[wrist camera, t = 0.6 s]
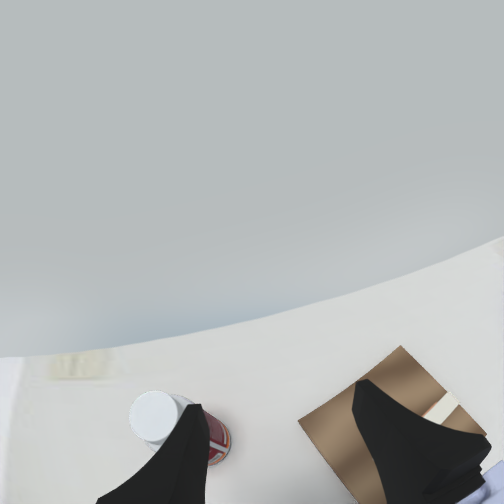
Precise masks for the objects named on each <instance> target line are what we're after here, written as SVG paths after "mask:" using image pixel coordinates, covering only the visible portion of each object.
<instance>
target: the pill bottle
mask: <svg viewBox="0 0 504 504" xmlns="http://www.w3.org/2000/svg"><path fill="white" fill-rule="evenodd" d="M188 404H195V403H193V402H192V401H190V400H189V399H187V398H185V397H183V396H179V395H169V394H167V393H165V392H162V391H157V390H153V391H148V392H145V393H144V394H142V395H140V396H139V397H138V398H137V399H136V400H135V401H134V403H133V405H132V407H131V409H130V413H129V422H130V426H131V429H132V430H133V432H134V433H135V434H136V435H137V436H138V437H139V438H140V439H142V440H144V441H145V443H146V444H147V445H148V447H149V448H150V449H152V450H153V451H154V452H157V451H158V450H159V448H160V447H161V446H162V444H163V443H164V442H165V440H166V439H167V438H168V436H169V435H170V433H171V431H172V430H173V428H174V427H175V425H176V424H177V422H178V420H179V418H180V417H181V415H182V413H183V411H184V409H185V407H186V406H187V405H188ZM203 412H204V415H205V418H206V421H207V424H208V427H209V429H210V452H209V460H208V466H209V465H213V464H216V463H218V462H219V461H221V460H222V459H223V458H224V457H225V456H226V454H227V452H228V450H229V447H230V435H229V432H228V430H227V428H226V427H225V426H224V424H223V423H221V422H220V421H219V420H218V419H216V418H215V417H213V416H212V415H210V414H209V413H207V412H206V411H204V410H203Z"/></svg>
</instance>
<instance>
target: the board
mask: <svg viewBox="0 0 504 504" xmlns="http://www.w3.org/2000/svg"><path fill="white" fill-rule="evenodd" d="M364 379H369V380H370V381H371V382H372V383H374V384H375V385H376V386H377V387H379V388H380V389H381V390H382V391H384V392H385V393H386V394H388V395H389V396H390V397H392V398H393V399H394V400H396V401H397V402H399V403H400V404H401V405H403V406H404V407H406V408H407V409H409V410H411V411H412V412H414V413H416V414H418V415H419V416H422V415H423V414H424V413H425V412H426V411H427V410H428V409H429V408H430V407H431V406H432V405H433V404H434V403H435V402H438V401H439V400H440V399H441V398H442V397H443V396H444V395H445V394H446V393H447V391H446V390H445V389H444V388H443V387H442V386H441V385H440V384H439V383H438V382H437V381H436V380H435V379H434V378H433V377H432V376H431V375H430V374H429V373H428V372H427V371H426V370H425V369H424V368H423V367H422V366H421V365H420V364H419V363H418V362H417V361H416V360H415V359H414V358H413V357H412V356H411V355H410V354H409V353H408V352H407V351H406V350H405V349H404V348H403V347H402V346H401V345H400V346H399V347H398V348H397V349H396V350H394V351H393V352H392V353H391V354H390V355H389V356H387V357H386V358H385V359H384V360H383V361H381V362H380V363H379V364H378V365H376V366H375V367H374V368H373V369H371V370H370V371H369V372H368V373H366V374H365V375H364V376H363V377H361V378H360V379H359V380H357V381H361V380H364ZM357 381H356V382H357ZM356 382H355V383H353V384H352V385H350V386H349V387H348V388H346V389H345V390H344V391H342V392H341V393H339V394H338V395H336V396H335V397H334V398H332V399H331V400H329V401H328V402H326V403H325V404H323V405H322V406H320V407H319V408H317V409H315V410H314V411H312V412H311V413H309V414H308V415H306V416H304V417H303V418H301V419H299V420H298V422H299V424H300V425H301V426H302V428H303V429H304V431H305V432H306V434H307V435H308V436H309V438H310V439H311V441H312V442H313V443H314V445H315V446H316V448H317V449H318V450H319V452H320V453H321V454H322V456H323V457H324V458H325V460H326V461H327V463H328V464H329V465H330V467H331V468H332V469H333V471H334V472H335V473H336V474H337V476H338V477H339V478H340V480H341V481H342V482H343V484H344V485H345V486H346V487H347V489H348V490H349V491H350V493H351V494H352V495H353V496H354V498H355V499H356V500H357V501H358V503H359V504H387V501H386V497H385V493H384V490H383V486H382V483H381V480H380V476H379V473H378V470H377V467H376V465H375V462H374V461H373V458H372V456H371V454H370V452H369V450H368V448H367V446H366V444H365V442H364V440H363V438H362V436H361V434H360V432H359V430H358V428H357V425H356V422H355V419H354V416H353V413H352V404H353V398H354V391H355V384H356ZM440 425H442V426H445V427H448V428H452V429H455V430H459V431H464V432H469V433H476V434H483V435H484V437H485V436H486V435H487V434H486V432H485V431H484V430H483V429H482V428H481V427H480V426H479V425H478V424H477V423H476V422H475V421H474V419H473V418H472V417H471V416H470V415H469V414H468V413H467V412H466V411H465V410H464V409H463V408H462V407H461V406H460V405H458V406H457V407H456V408H455V409H454V410H453V411H452V413H451V414H450V415H449V416H448V417H447V418H446V419H445V420H444V421H443V422H442V423H441V424H440Z"/></svg>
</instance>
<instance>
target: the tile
mask: <svg viewBox="0 0 504 504" xmlns="http://www.w3.org/2000/svg"><path fill="white" fill-rule="evenodd" d="M459 403H460V402H459V401H458V400H457V399H456V398H455V397H454V396H453V395H452V394H451V393H450V391H448V392H447V393H446V394H445V395H444V396H443V397H442V398H441V399H440V400H439V401H438V402H435V403H434V404H433V405H432V406H431V407H430V408H429V409H428V410H427V411H426V412H425V413H424V414H423V415H422V416H421V417H423V418H426V419H428V420H430V421H432V422H434V423H437V424H441V423H442V422H443V421H444V420H445V419H446V418H447V417H448V416H449V415H450V414H451V413H452V411H453V410H454V409H455V408H456V407H457V406H458V405H459ZM373 461H374V460H373Z"/></svg>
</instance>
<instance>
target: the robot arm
mask: <svg viewBox="0 0 504 504" xmlns="http://www.w3.org/2000/svg"><path fill="white" fill-rule="evenodd" d="M352 413H353V416H354V419H355V422H356V425H357V428H358V430H359V432H360V434H361V436H362V438H363V440H364V442H365V444H366V446H367V448H368V450H369V452H370V454H371V456H372V458H373V460H374V462H375V465H376V467H377V470H378V473H379V476H380V480H381V483H382V486H383V490H384V493H385V497H386V501H387V504H504V461H503V460H501V461H500V462H498V463H497V464H496V465H495V466H493V467H492V468H491V469H489V470H488V471H487V472H486V473H484V474H483V475H481V474H480V472H481V471H482V468H481V467H480V464H481V462H482V461H483V460H484V459H485V457H486V456H487V455H488V453H489V452H490V450H491V447H492V446H491V444H490V443H489V442H488V440H487V439H486V438H485V437H484V435H483V434H476V433H469V432H464V431H459V430H455V429H452V428H448V427H445V426H442V425H440V424H437V423H434V422H432V421H430V420H428V419H426V418H423V417H421V416H419V415H418V414H416V413H414V412H412V411H411V410H409V409H407V408H406V407H404V406H403V405H401V404H400V403H399V402H397V401H396V400H394V399H393V398H392V397H390V396H389V395H388V394H386V393H385V392H384V391H382V390H381V389H380V388H379V387H377V386H376V385H375V384H374V383H372V382H371V381H370V380H369V379H364V380H361V381H357V382H356V384H355V391H354V398H353V404H352ZM209 452H210V429H209V427H208V424H207V421H206V418H205V415H204V412H203V409H202V406H201V404H188V405H187V406H186V407H185V409H184V411H183V413H182V415H181V417H180V418H179V420H178V422H177V424H176V425H175V427H174V428H173V430H172V431H171V433H170V435H169V436H168V438H167V439H166V440H165V442H164V443H163V444H162V446H161V447H160V448H159V450H158V451H157V452H156V453H155V455H154V456H153V457H152V458H151V459H150V460H149V461H148V462H147V463H146V464H145V465H144V466H143V467H142V468H141V469H140V470H139V471H138V472H137V473H136V474H135V475H133V476H132V477H131V478H130V479H128V480H127V481H126V482H124V483H123V484H122V485H120V486H119V487H117V488H116V489H114V490H113V491H111V492H109V493H107V494H106V495H104V496H102V497H100V498H98V500H97V502H96V504H205V484H206V476H207V468H208V460H209Z"/></svg>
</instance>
